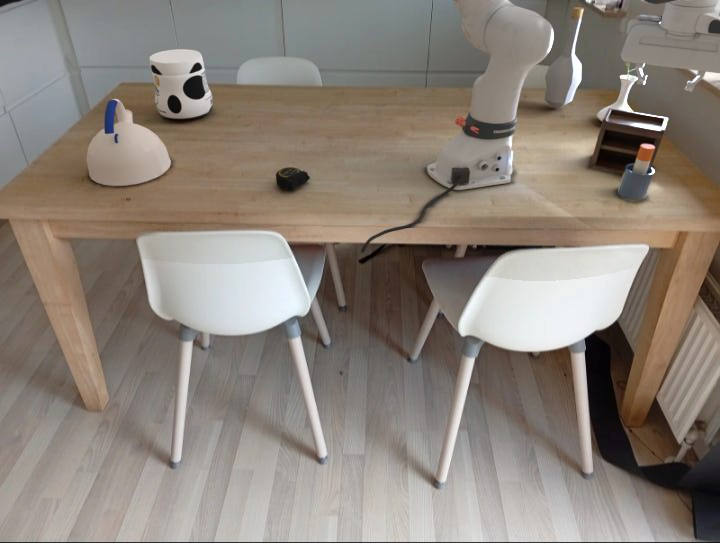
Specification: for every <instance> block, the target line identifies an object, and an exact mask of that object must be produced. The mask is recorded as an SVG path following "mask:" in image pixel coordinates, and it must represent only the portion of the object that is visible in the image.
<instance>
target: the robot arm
mask: <svg viewBox="0 0 720 543" xmlns="http://www.w3.org/2000/svg"><path fill="white" fill-rule="evenodd" d="M639 1H640V2H642V3H645V4H648V5H660V4H665V5H664V9H663V12H662V15H656V14H655V15H654V14H649V15H648V14H644V13H639V14H638V15H635V16H633V17H631V18H630V19H629V20H628V23H627V26H626V32H625V33H626V35H627V37H626V40H625V43H624V44H623V47H622V50H621V53H620V58H621V60H622V61H623V62H625V63H626V62H628V63H629V62H630V63H634V64H636V65H635V68H636V69H635V71H636V74H637V78H638V79H637V80H636V85H639V86H640V85H641V86H645V84H646V80H647V77H648V74H644V72H643V68H644V67H645V65H650V66H658V67H666V68H673V69H681V70H683V69H684V70H689V71H697V72H696V77H694V79H693V80H687V83H686V86H685V88H684V92H688V93H689V92H690V93H693V91H694V88H695V85H697V84H698V83H699V82H700V81H701V80H702V79H703V78H704V77H705V75H706V73H714V74H720V10H719V9H716V8H717V5H718V3H719V0H639ZM453 3H454V5H456V7H457V10H458V11H459V14H460V17H461V32H462V35H463V37H464V38H465V39H466V40H467V41H468V43H470V44H471V45H472V46H473V47H474V48H475V49H477V50H479V51H481V52H483V53H486V54H488V55H489V62H488V65H487V67H486V70H485V72H484V73H483V74H481V75H479V76H478V77H477V78H476V79H475V81H474V83H473V86H472V93H471V102H470V108H469V109H470V110H469V112H468V113H467V115H466V118H463V117H461V116H457V117H456V118H455V119H454V124H455V125H457V126H459V128H461V130H460V131H459V132H458V133H456V134H455V135H453V137H452V138H451V139H449V141H447V142H446V143H445V144H444V145H443V146H442V147H440V149H439V151H438V154H437V157H436V161H435V162H432V163H430V164H427V167H426V172H427V174H428V175H429V176H430V178H431V179H433V180H434V181H436V182H437V183H438V184H440V185H441V186H444V187H446V188H448V189H445V191H444V192H442V193H441V194H439V195H438V196H436V197H434V198H433V199H431V200H430V201H429V202H427V203H426V205H425V206H424V207H423V209H422V210H421V213H420V215H419V216H418V218H417V219H415V221H412V222H411V223H408V224H405V225H401V226H396V227H392V228H387V229H384V230H382V231H380V232H378V233H376V234H374V235H372V236H370V237H369V238H368V239H367V240H366V241H365V243H364V245H362V248H361V249H360V253H365V251H366V250H367V248H368V246H369V244H370V243H371V242H373V241H374V240H376V239H377V238H379V237H382V236H384V235H386V234H389V233H391V232H397V231H402V230H406V229H409V228H412V227H414V226H416V225H417V224H419V223H420V222H421V221H422V220H423V218H424V216H425V213H426V212H427V209H429V207H430V206H431V205H432V204H434V203H435V202H437V201H438V200H440V199H441V198H443V197H445V196H446V195H448V194H449V193H450V192H452V191H453V190H456V191H464V190H470V189H476V188H477V189H478V188H485V187H490V186H497V185H504V184H509V183H510V182H511V180H512V179H511V178H512V176H511V175H512V174H513V171H514V169H513V155H514V151H513V136H514V134H515V133H516V128H517V122H518V117H517V112H518V106H519V101H520V96H521V93H522V92H521V91H522V88H523V85H524V83H525V80H526V79H527V76H528V75H529V73H530V72H531V70H532V69H533V68H534V67H536V65H539V64H540V63H541V62H542V61H543V60H544V59H546V58H547V56H548V55H549V53H550V51H551V50H552V47H553V43H554V39H555V38H554V37H555V33H554V32H555V31H554V28H553V26H552V23H550V21H548V20H547V19H546V18H545V17H543V16H542V15H541V14H539V13H538V12H536V11H534V10H530V9H527V8H524V7H521V6H518V5H515V4H514V3H512V2H511V1H510V0H453Z"/></svg>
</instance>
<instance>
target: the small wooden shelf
mask: <svg viewBox="0 0 720 543" xmlns="http://www.w3.org/2000/svg"><path fill="white" fill-rule="evenodd" d="M668 121H669V117H667V116H661V115H653V114H648V113H643V112H635V111H633V112H630V111H624V110H618V109H612V108H609V109H608V111H607V113H606V115H605V116H604V118H603V121H601V125H600V129H599V132H598V135H597V139H596V143H595V146H594V150H593V153H592V157H591V160H590V164H589V167H593V168H596V169H601V170H607V171H610V172H616V173H621V174H623V173H624V170H625V167H626V165H627V164H631V163H635V161H636V158H637V155H638V152H639V149H640V146H641V144H651V145H653V146H655V150H654V152H653V155H652V158H651V161H650V164H649V166H650V167H652V168H653V165H654V162H655V159H656V157H657V154H658V151H659V147H660V145H661V143H662V139H663V137H664V133H665V131H666V127H667V125H668Z"/></svg>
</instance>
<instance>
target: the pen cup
mask: <svg viewBox="0 0 720 543" xmlns="http://www.w3.org/2000/svg"><path fill="white" fill-rule="evenodd" d="M634 164H635V163H631V164H627V165H626V167H625V170H624V173H622V176H621V179H620V182H619V186H618V188H617V193H618V194H619V196H620V197H623V198H625V199H628V200H632V201H633V200H634V201H640V200H641V201H642V200H644V199H646V197H647V195H648V192H649V190H650V187H651V185H652V182H653V178H654V177H655V173H656V170H655V169H654V168H653V166H652V167H650V166H649V167H648V169H647V172H646V174H638V173H635V172H632V170H633V167H634Z"/></svg>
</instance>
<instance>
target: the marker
mask: <svg viewBox="0 0 720 543" xmlns="http://www.w3.org/2000/svg"><path fill="white" fill-rule="evenodd" d="M654 150H655V146H653V145H651V144H641V146H640V149H639V152H638V155H637V158H636V161H635V164H634V167H633V170H632V172H635V173H638V174H646V172H647V169H648V167H649V164H650V161H651V158H652V155H653V152H654Z"/></svg>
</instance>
